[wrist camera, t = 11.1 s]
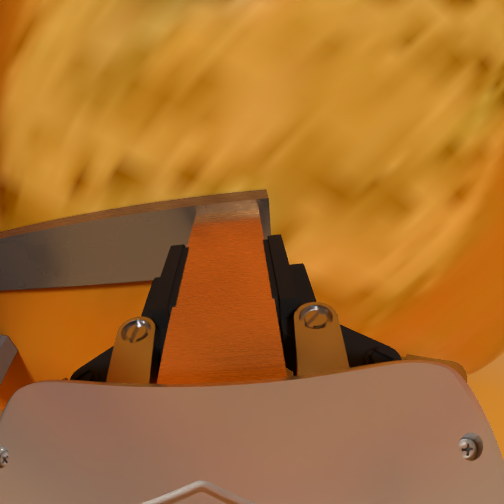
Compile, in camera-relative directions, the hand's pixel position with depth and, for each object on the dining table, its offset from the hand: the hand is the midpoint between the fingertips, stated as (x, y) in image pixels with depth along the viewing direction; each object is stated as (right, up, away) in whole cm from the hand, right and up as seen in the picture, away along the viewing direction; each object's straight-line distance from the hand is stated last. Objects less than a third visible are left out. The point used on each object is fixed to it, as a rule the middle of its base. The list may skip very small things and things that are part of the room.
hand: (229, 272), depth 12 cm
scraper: (-10, +1, +4) cm, 11 cm away
